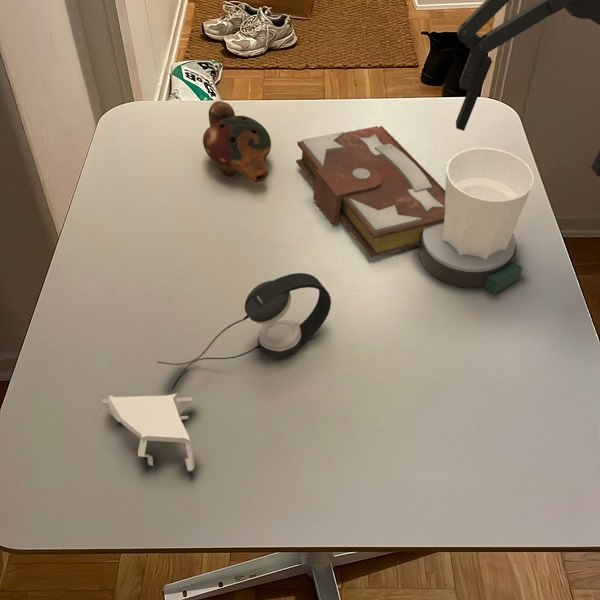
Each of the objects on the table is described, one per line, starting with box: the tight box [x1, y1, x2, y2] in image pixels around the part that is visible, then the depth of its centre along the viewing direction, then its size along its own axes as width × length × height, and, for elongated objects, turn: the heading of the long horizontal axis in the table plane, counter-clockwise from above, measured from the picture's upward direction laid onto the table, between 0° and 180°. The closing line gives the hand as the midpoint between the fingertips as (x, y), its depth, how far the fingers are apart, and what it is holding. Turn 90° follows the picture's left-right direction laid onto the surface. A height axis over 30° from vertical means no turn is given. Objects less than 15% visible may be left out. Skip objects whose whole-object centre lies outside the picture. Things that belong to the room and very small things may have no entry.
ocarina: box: [202, 100, 272, 184], centre depth 107 cm, size 10×15×8 cm, turn 34°
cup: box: [442, 147, 535, 259], centre depth 89 cm, size 10×10×10 cm
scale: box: [418, 222, 523, 295], centre depth 94 cm, size 13×12×3 cm
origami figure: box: [101, 393, 195, 472], centre depth 75 cm, size 12×8×5 cm
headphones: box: [157, 272, 332, 389], centre depth 81 cm, size 10×4×20 cm
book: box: [295, 125, 445, 258], centre depth 102 cm, size 23×16×5 cm
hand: (528, 149), depth 69 cm, fingers open, 13 cm apart
